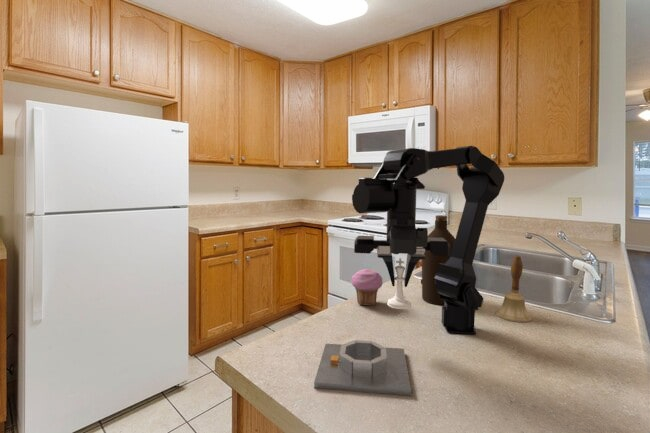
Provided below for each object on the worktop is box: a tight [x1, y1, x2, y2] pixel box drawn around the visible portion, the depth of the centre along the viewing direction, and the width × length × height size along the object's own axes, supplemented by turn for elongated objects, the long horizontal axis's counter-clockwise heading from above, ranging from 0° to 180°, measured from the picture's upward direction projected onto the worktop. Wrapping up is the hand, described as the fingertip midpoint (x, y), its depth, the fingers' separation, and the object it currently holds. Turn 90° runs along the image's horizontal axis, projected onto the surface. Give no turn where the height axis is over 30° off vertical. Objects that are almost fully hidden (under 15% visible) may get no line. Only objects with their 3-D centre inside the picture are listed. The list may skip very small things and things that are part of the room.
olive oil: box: [420, 214, 456, 306], centre depth 100 cm, size 11×11×25 cm
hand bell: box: [495, 255, 533, 323], centre depth 88 cm, size 8×8×16 cm
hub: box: [313, 339, 412, 397], centre depth 63 cm, size 16×14×4 cm
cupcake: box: [350, 268, 384, 306], centre depth 97 cm, size 9×9×10 cm
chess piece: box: [387, 257, 412, 310], centre depth 71 cm, size 5×5×10 cm
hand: (399, 286), depth 71 cm, fingers closed on chess piece, 2 cm apart
